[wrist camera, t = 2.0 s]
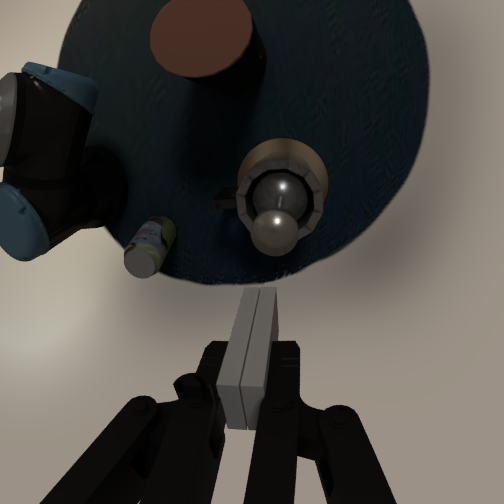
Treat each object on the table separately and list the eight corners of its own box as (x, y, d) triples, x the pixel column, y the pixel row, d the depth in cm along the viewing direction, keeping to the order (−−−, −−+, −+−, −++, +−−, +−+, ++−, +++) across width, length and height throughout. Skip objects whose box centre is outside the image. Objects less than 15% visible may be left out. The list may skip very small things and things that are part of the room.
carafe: (232, 217, 50) (214, 245, 39) (225, 155, 46) (204, 166, 35) (316, 213, 48) (323, 241, 37) (313, 149, 44) (321, 158, 33)
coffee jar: (281, 69, 40) (274, 37, 24) (222, 106, 43) (183, 98, 27) (241, 19, 37) (214, -30, 21) (186, 57, 40) (132, 29, 24)
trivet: (242, 227, 51) (242, 228, 50) (233, 141, 45) (233, 142, 45) (328, 224, 49) (329, 225, 48) (325, 136, 43) (326, 136, 43)
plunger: (256, 224, 39) (240, 270, 28) (251, 173, 37) (231, 198, 25) (308, 222, 38) (314, 268, 27) (305, 170, 36) (312, 194, 24)
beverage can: (160, 205, 51) (127, 228, 40) (190, 235, 53) (164, 265, 42) (140, 228, 53) (106, 255, 42) (168, 257, 55) (140, 290, 44)
